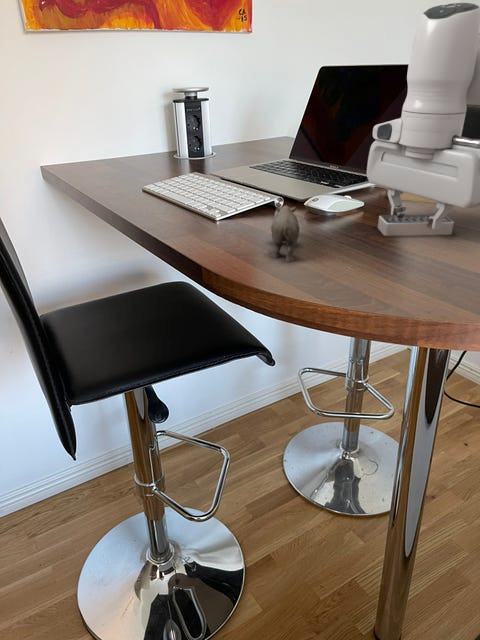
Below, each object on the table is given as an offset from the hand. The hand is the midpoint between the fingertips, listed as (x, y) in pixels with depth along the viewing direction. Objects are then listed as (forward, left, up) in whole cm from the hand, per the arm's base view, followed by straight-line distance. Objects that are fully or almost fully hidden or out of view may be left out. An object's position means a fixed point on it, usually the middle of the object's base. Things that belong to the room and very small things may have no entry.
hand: (414, 222), depth 81 cm
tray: (-21, -15, -2) cm, 26 cm away
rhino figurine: (+21, -7, -2) cm, 23 cm away
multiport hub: (0, 0, -2) cm, 2 cm away
